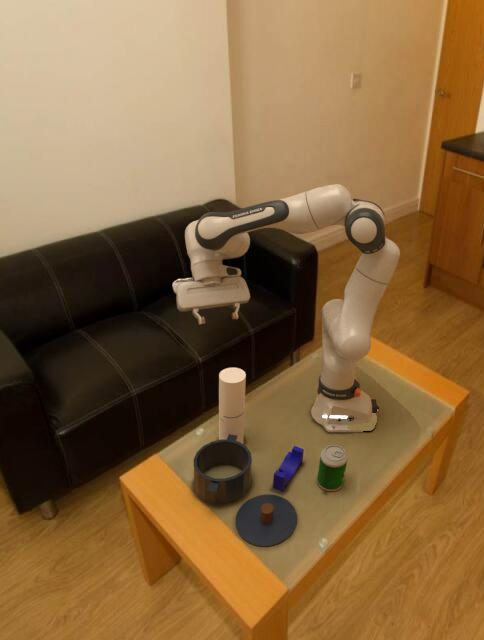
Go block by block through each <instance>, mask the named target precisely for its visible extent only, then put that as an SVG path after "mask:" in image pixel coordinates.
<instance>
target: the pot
mask: <svg viewBox="0 0 484 640" xmlns="http://www.w3.org/2000/svg"><path fill="white" fill-rule="evenodd" d="M236 440H237V435H230V434H229V435H228V438H227V440H224V439H221V440H219V439H217V440H212V441H210V442H208V443H206V444H204V445H203V446H202V447H200V448H199V449H198V451H196V453H195V455H194V457H193V483H194V492H195V494H196V496H197V497H198V499H200V500H201V501H203V502H204V503H207V504H210V505H213V506H225V505H230V504H233V503H236V502H237V501H239V500H241V498H243V497H245V495H246V494H247V493H248V491H249V489H250V487H251V483H252V465H253V463H252V461H253V458H252V457H253V456H252V452H251V450H250V449H249V448H248V447H247V445H245V444H244V443H243V444H242V443H240V442H238V441H236ZM226 465H227V466H232V467H236V468H238V469H239V470H241V471H240V472H238V473H237V474H235V475H232V476H229V477H225V478H215V477H212V476H208V475H206V474H205V472H206V471H208V470H210V469H212V468H214V467H219V466H226Z"/></svg>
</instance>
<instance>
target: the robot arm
mask: <svg viewBox="0 0 484 640" xmlns="http://www.w3.org/2000/svg"><path fill="white" fill-rule="evenodd" d="M386 222H387V221H386V217H385V212H384V211H383V209H382V207H381V206H380V205H378V204H377V203H375V202H373V201H370V200H364V199H360V198H353V197H352V195H351V193H350V191H349V190H348V189H347V187H345V186H344V185H342V184H339V183H335V184H334V183H333V184H328V185H323V186H319V187H315V188H312V189H309V190H306V191H303V192H300V193H297V194H294V195H291V196H288V197H287V196H286V197H284V198H280V199H275V200H274V199H273V200H270V201H265V202H261V203H257V204H253V205H250V206H246V207H242V208H238V209H235V210H232V211H227V212H226V211H225V212H220V211H209V212H206V213H205V214H203V215H202V216H201V217H200V218H198V219H197V220H194V221H192V222H190V223H188V225H187V226H186V227H185V230H184V240H185V248H186V253H187V256H188V259H189V260H190V271H191V276H192V277H185V278H177V279H176V280H174V281H173V282H172V284H171V285H172V290H173V293H174V294H175V295H176V296H175V298H176V299H175V300H176V307H177V310H178V311H179V312H181V313H184V312H191V314H192V316H194V318H195V319H196V320H197V322H198V323H197V324H198V325H199V326H201V325H202V326H203V325H205V324H206V320H205V319H206V318H205V316H201V315H200V314H199V311H200V310H205V309H206V310H207V309H213V308H221V307H229V306H232V308H233V309H234V312H232V313H231V314H230V315H231V320H232V321H237V320H238V319H239V313H238V312H239V310H240V306H241V305H244V304H247V303H248V302H249V301H250V300H251V293H250V289H249V287H248V284H247V282H246V280H245V279H244V278H243V277H242V270H241V269H240V268H238V267H233V266H229V265H225V264H223V261H224V260H232V259H237V258H238V259H239V258H241V257H243V256H244V255H245V254H246V253H248V251H249V249H250V246H251V237H250V234H249V233H250V232H254V231H257V230H261V229H277V230H282V231H286V232H288V233H290V234H295V235H305V234H311V233H314V232H317V231H321V230H323V229H325V228H328V227H332V226H342V227H344V232H345V235H346V237H347V239H348V240H349V242H350V243H351V244H352V245H354V247H356V249H358V250H359V251H360V252H361V255H360V256H359V259H358V261H357V263H356V265H355V267H354V269H353V271H352V273H351V274H350V277H349V278H348V281H347V282H346V285H345V288H344V290H343V299H341V298H333V299H330V300H329V301H327V302H326V303H325V304H324V305H323V306H322V308H321V342H322V343H321V346H322V348H321V349H322V359H321V361H322V362H321V370H320V375H319V377H318V380H317V387H316V391H317V394H316V398H315V401H314V403H313V405H312V407H311V410H310V414H311V417H312V419H313V420H314V421H315V422H316V423H318V424H319V425H321V426H322V427H323V429H325V431H326V432H328V433H364V432H363V431H362V430H350V429H348V428H347V427H348V425H353V424H362V423H369V422H370V420H371V417H372V413H376V412H377V409H379V410H380V406H379V405H378V403H377V399H374V398H371V397H370V396H369V394H368V393H366V392H365V391H363V390H362V389H361V388H360V387H361V384H360V378H357V379H356V374H357V367H358V361H360V360H363V359H364V358H365V357H367V355H368V354H369V353H370V350H371V347H372V341H371V339H372V338H371V337H372V330H373V325H374V321H375V318H376V314H377V310H378V308H379V306H380V303H381V301H382V299H383V297H384V295H385V293H386V291H387V288H388V287H389V285H390V283H391V281H392V279H393V277H394V275H395V273H396V270H397V267H398V265H399V262H400V259H401V250H400V247H399V246H398V245H397V244H396V242H394V241H393V240H391V239H390V238H388V237H387V236H386ZM377 413H378V412H377ZM349 427H350V426H349ZM357 429H358V428H357Z"/></svg>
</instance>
